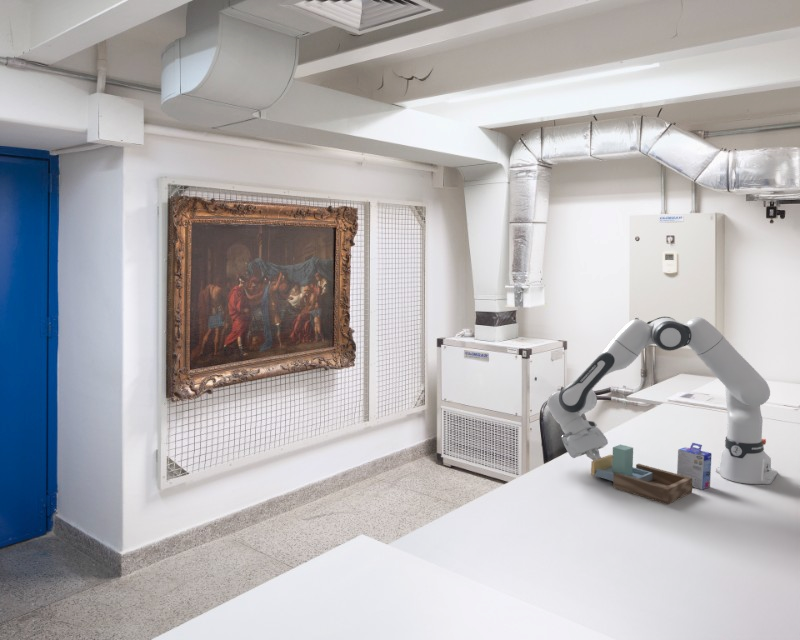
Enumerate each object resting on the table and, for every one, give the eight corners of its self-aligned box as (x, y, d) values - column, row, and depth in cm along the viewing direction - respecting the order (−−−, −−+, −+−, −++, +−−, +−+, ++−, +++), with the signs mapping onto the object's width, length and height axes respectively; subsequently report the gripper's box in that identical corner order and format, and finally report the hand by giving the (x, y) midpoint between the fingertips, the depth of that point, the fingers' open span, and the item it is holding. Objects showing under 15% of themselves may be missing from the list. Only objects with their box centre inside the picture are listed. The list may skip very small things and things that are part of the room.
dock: (638, 476, 236) (638, 463, 236) (691, 492, 221) (692, 478, 220) (613, 487, 226) (613, 473, 226) (667, 504, 211) (668, 489, 210)
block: (619, 471, 236) (620, 444, 235) (632, 474, 232) (633, 447, 231) (612, 474, 233) (612, 447, 231) (624, 478, 229) (625, 450, 228)
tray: (610, 467, 243) (610, 454, 242) (652, 479, 229) (653, 466, 229) (591, 474, 235) (591, 461, 235) (634, 487, 222) (634, 473, 221)
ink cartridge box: (711, 486, 226) (712, 446, 224) (703, 490, 222) (704, 449, 221) (684, 479, 233) (685, 439, 232) (675, 482, 230) (677, 442, 229)
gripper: (564, 431, 238) (587, 463, 231) (597, 420, 250) (619, 451, 244) (554, 440, 242) (576, 472, 235) (587, 429, 254) (608, 459, 248)
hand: (598, 461), depth 240 cm, fingers closed
